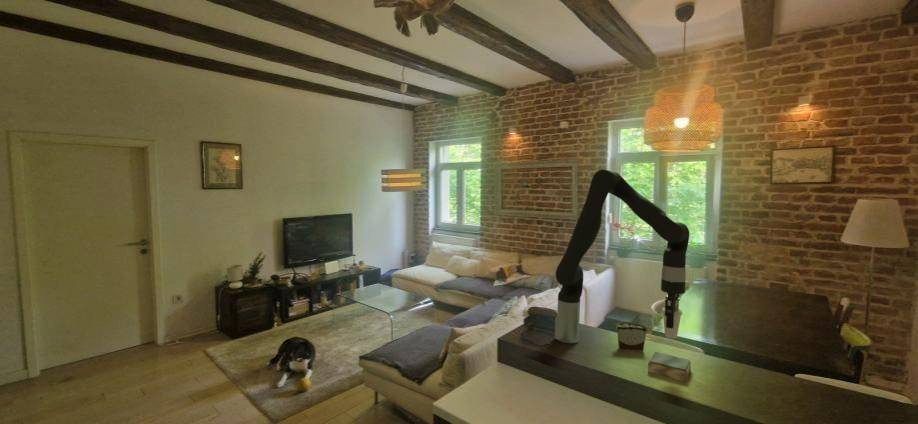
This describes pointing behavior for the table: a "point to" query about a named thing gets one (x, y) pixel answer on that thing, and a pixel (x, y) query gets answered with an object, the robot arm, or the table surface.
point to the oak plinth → (670, 366)
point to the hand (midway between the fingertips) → (671, 325)
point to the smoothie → (674, 331)
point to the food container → (631, 336)
